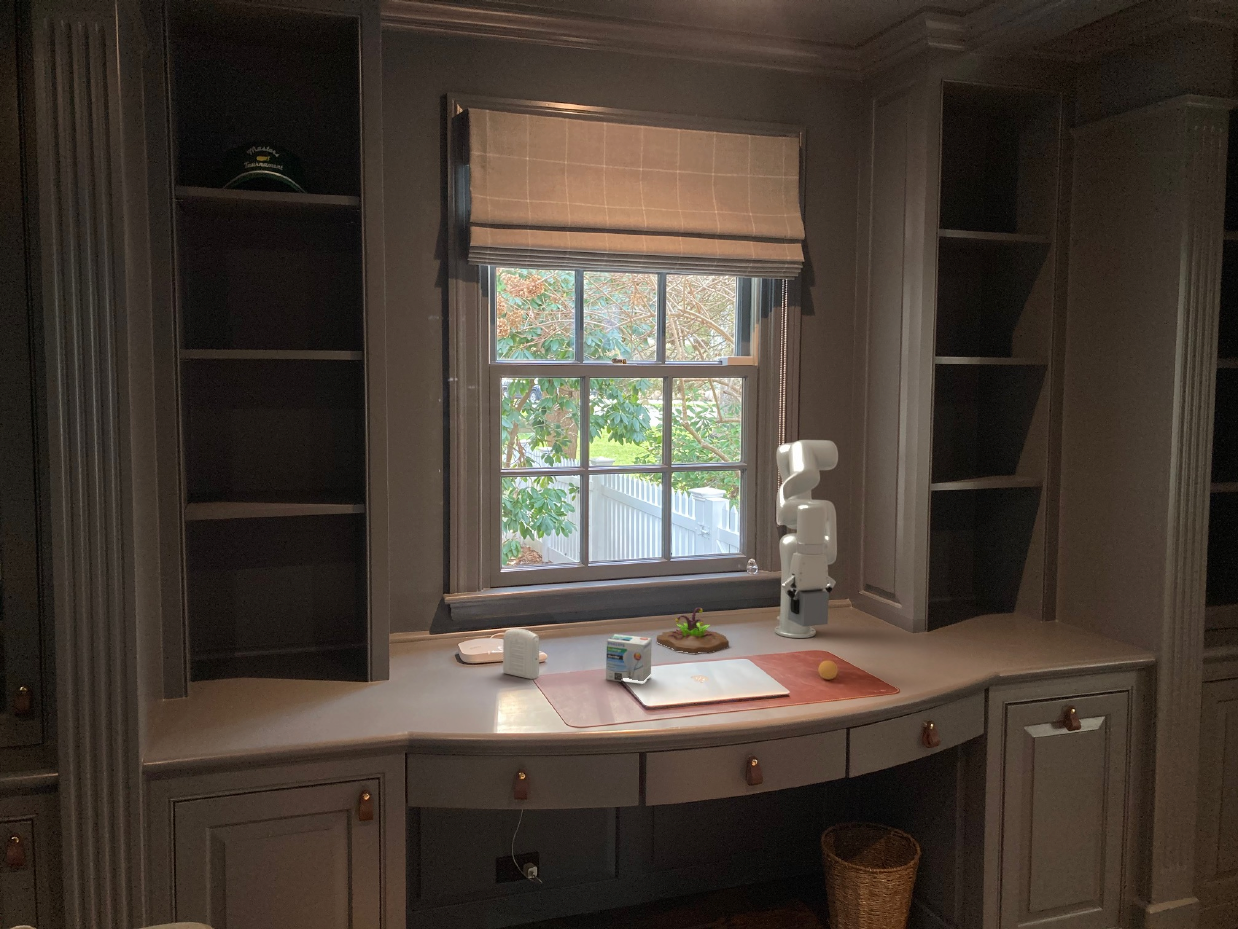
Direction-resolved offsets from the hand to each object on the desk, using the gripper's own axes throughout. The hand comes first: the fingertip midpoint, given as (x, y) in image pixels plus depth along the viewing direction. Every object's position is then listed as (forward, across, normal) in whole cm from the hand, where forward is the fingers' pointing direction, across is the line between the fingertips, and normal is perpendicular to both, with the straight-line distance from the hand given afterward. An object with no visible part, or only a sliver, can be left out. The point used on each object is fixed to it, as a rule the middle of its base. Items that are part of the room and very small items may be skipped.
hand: (808, 611), depth 251 cm
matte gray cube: (+3, 0, 0) cm, 3 cm away
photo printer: (+16, +76, -19) cm, 80 cm away
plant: (+17, +19, -31) cm, 40 cm away
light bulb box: (+16, +50, -7) cm, 53 cm away
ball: (+13, 0, +10) cm, 17 cm away
